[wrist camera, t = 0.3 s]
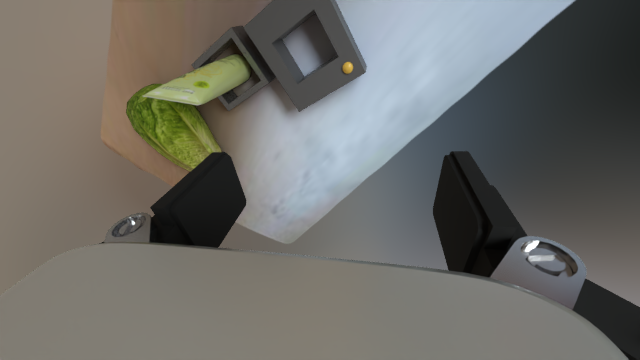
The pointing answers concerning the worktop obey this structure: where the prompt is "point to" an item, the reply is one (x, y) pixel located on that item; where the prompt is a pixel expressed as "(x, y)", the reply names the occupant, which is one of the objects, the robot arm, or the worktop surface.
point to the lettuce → (171, 128)
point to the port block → (267, 33)
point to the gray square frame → (249, 53)
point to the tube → (205, 82)
